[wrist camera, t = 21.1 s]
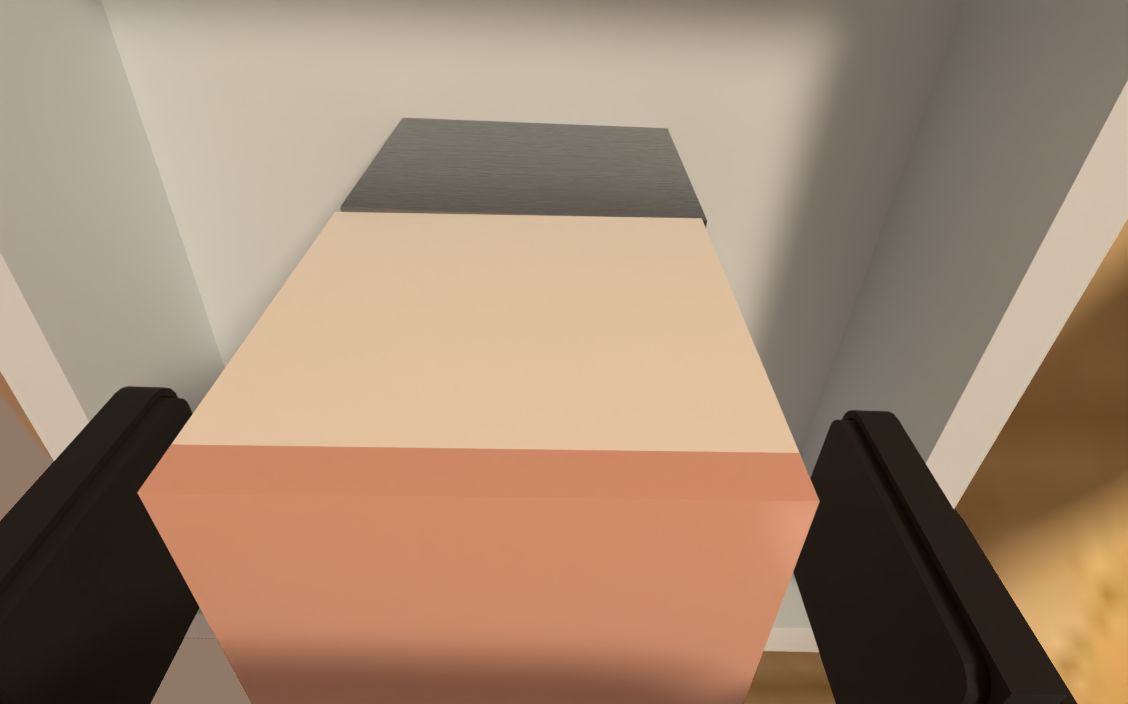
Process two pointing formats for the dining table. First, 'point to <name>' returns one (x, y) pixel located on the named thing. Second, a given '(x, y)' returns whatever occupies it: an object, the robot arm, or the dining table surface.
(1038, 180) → the tote
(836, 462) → the robot arm
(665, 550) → the orange and beige cube
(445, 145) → the block
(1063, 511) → the dining table surface
